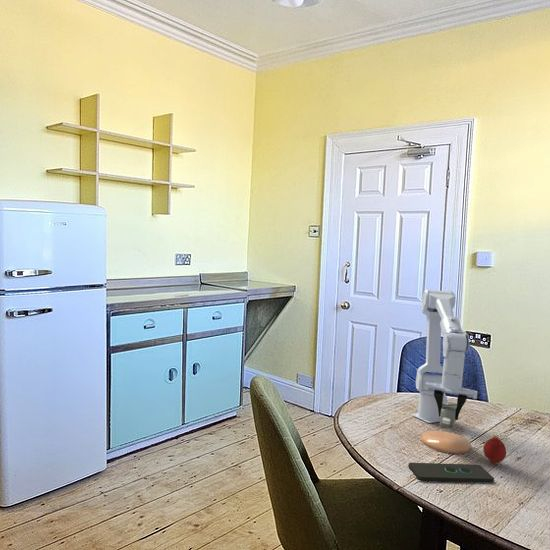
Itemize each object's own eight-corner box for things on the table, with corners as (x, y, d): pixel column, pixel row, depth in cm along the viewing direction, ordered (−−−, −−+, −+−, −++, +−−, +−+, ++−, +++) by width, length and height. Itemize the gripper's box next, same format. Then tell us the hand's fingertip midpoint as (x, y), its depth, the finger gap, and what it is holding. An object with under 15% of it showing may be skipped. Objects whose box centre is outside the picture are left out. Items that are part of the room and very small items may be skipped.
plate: (443, 432, 163) (443, 428, 163) (480, 449, 151) (481, 445, 151) (411, 438, 156) (412, 434, 156) (448, 456, 144) (448, 452, 144)
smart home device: (495, 478, 130) (419, 476, 128) (494, 485, 130) (418, 483, 128) (479, 463, 138) (407, 461, 136) (478, 469, 138) (407, 467, 136)
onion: (503, 461, 143) (506, 433, 143) (505, 470, 138) (509, 441, 137) (481, 457, 145) (484, 430, 145) (482, 465, 140) (485, 437, 139)
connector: (442, 416, 158) (444, 400, 158) (456, 419, 157) (458, 403, 156) (437, 429, 147) (439, 412, 147) (452, 432, 145) (454, 415, 145)
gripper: (425, 371, 151) (421, 416, 152) (478, 380, 145) (473, 426, 146) (429, 366, 158) (424, 409, 159) (479, 374, 152) (474, 419, 153)
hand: (448, 417), depth 153 cm, fingers closed on connector, 4 cm apart
